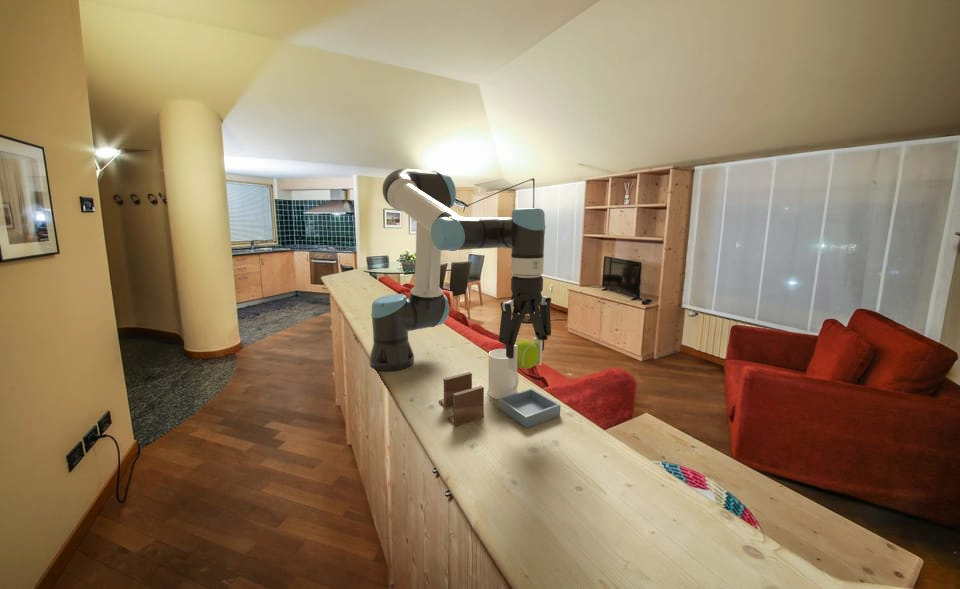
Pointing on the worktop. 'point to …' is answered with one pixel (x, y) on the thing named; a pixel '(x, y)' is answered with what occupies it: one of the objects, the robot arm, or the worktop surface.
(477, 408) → the bookend
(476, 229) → the robot arm
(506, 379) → the mug
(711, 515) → the worktop surface
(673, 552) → the worktop surface
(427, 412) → the worktop surface
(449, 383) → the bookend
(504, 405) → the dish
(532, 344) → the tennis ball
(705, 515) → the worktop surface
